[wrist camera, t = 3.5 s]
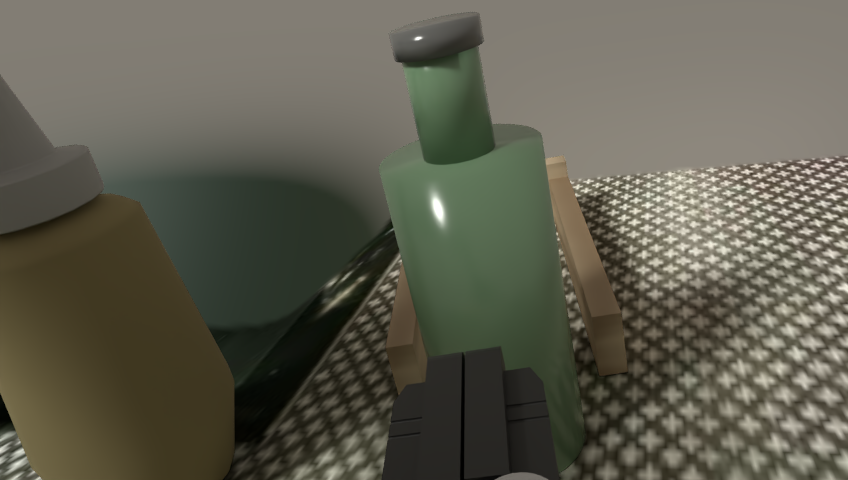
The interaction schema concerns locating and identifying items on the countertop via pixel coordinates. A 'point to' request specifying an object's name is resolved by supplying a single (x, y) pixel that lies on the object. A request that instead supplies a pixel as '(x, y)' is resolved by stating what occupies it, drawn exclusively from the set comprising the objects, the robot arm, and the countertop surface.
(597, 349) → the u rest
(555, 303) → the bottle
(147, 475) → the squeeze bottle
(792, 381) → the countertop surface
